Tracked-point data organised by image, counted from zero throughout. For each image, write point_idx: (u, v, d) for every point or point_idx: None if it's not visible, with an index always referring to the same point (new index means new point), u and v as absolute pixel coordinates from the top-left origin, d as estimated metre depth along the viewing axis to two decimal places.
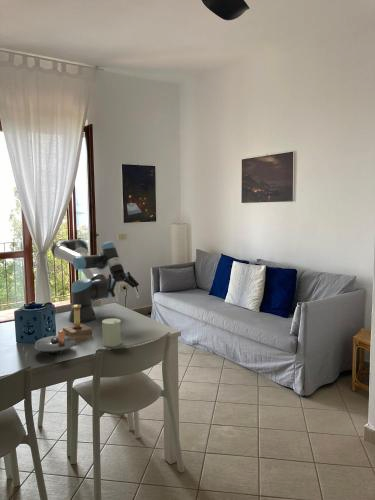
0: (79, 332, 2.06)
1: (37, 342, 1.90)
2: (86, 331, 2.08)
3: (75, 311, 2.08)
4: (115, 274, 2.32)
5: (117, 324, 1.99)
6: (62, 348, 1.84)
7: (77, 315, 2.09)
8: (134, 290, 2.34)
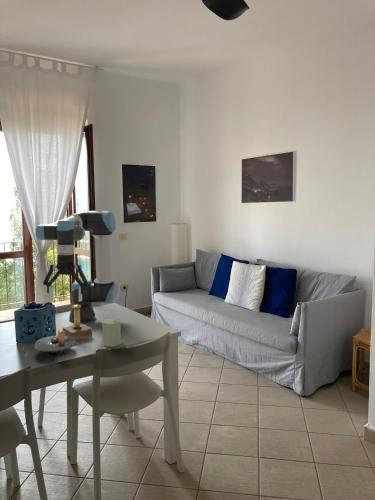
0: (79, 332, 2.06)
1: (37, 342, 1.90)
2: (86, 331, 2.08)
3: (75, 311, 2.08)
4: (59, 266, 1.84)
5: (117, 324, 1.99)
6: (62, 348, 1.84)
7: (77, 315, 2.09)
8: None
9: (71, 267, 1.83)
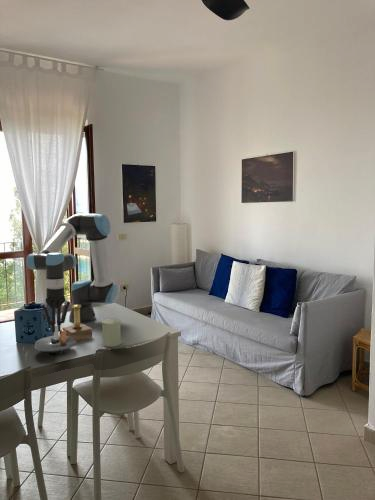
0: (79, 332, 2.06)
1: (37, 343, 1.89)
2: (86, 331, 2.08)
3: (75, 311, 2.08)
4: (49, 300, 1.80)
5: (117, 324, 1.99)
6: (64, 347, 1.84)
7: (77, 315, 2.09)
8: None
9: (62, 300, 1.83)
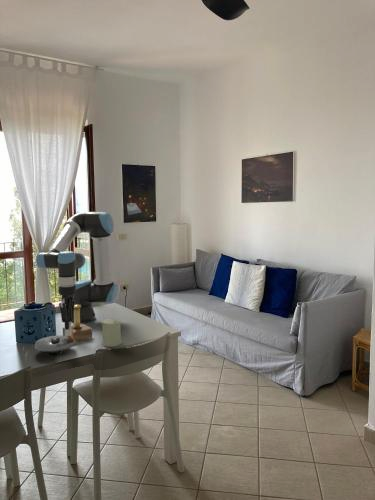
0: (79, 332, 2.06)
1: (41, 347, 1.84)
2: (86, 331, 2.08)
3: (75, 311, 2.08)
4: (66, 297, 1.84)
5: (117, 324, 1.99)
6: (74, 342, 1.91)
7: (77, 315, 2.09)
8: None
9: (72, 296, 1.89)
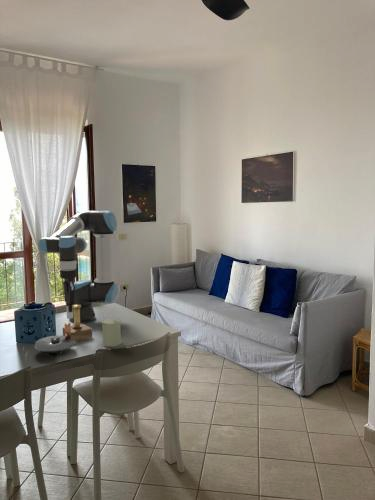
0: (79, 332, 2.06)
1: (55, 347, 1.83)
2: (86, 331, 2.08)
3: (75, 311, 2.08)
4: None
5: (117, 324, 1.99)
6: None
7: (77, 315, 2.09)
8: None
9: None
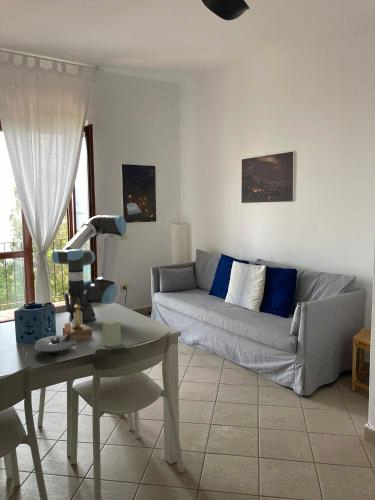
0: (79, 332, 2.06)
1: (55, 347, 1.83)
2: (86, 331, 2.08)
3: (75, 311, 2.08)
4: (72, 290, 2.05)
5: (117, 324, 1.99)
6: None
7: (77, 315, 2.09)
8: None
9: (82, 290, 2.09)
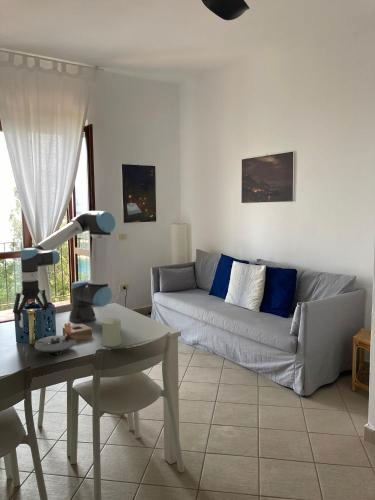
0: (79, 332, 2.06)
1: (55, 347, 1.83)
2: (86, 331, 2.08)
3: (30, 316, 1.99)
4: (25, 291, 1.96)
5: (117, 324, 1.99)
6: None
7: (32, 320, 1.99)
8: None
9: (37, 291, 2.00)
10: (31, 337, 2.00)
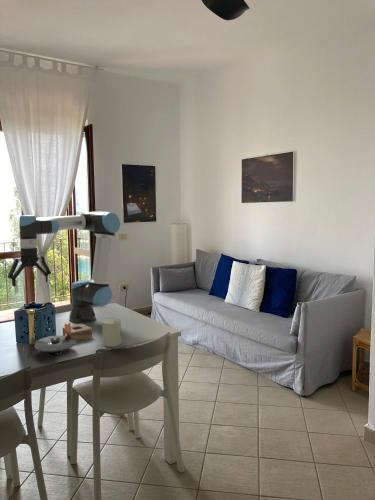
0: (79, 332, 2.06)
1: (55, 347, 1.83)
2: (86, 331, 2.08)
3: (30, 316, 1.99)
4: (24, 259, 1.94)
5: (117, 324, 1.99)
6: None
7: (32, 320, 1.99)
8: (43, 279, 2.02)
9: (36, 259, 1.98)
10: (31, 337, 2.00)
